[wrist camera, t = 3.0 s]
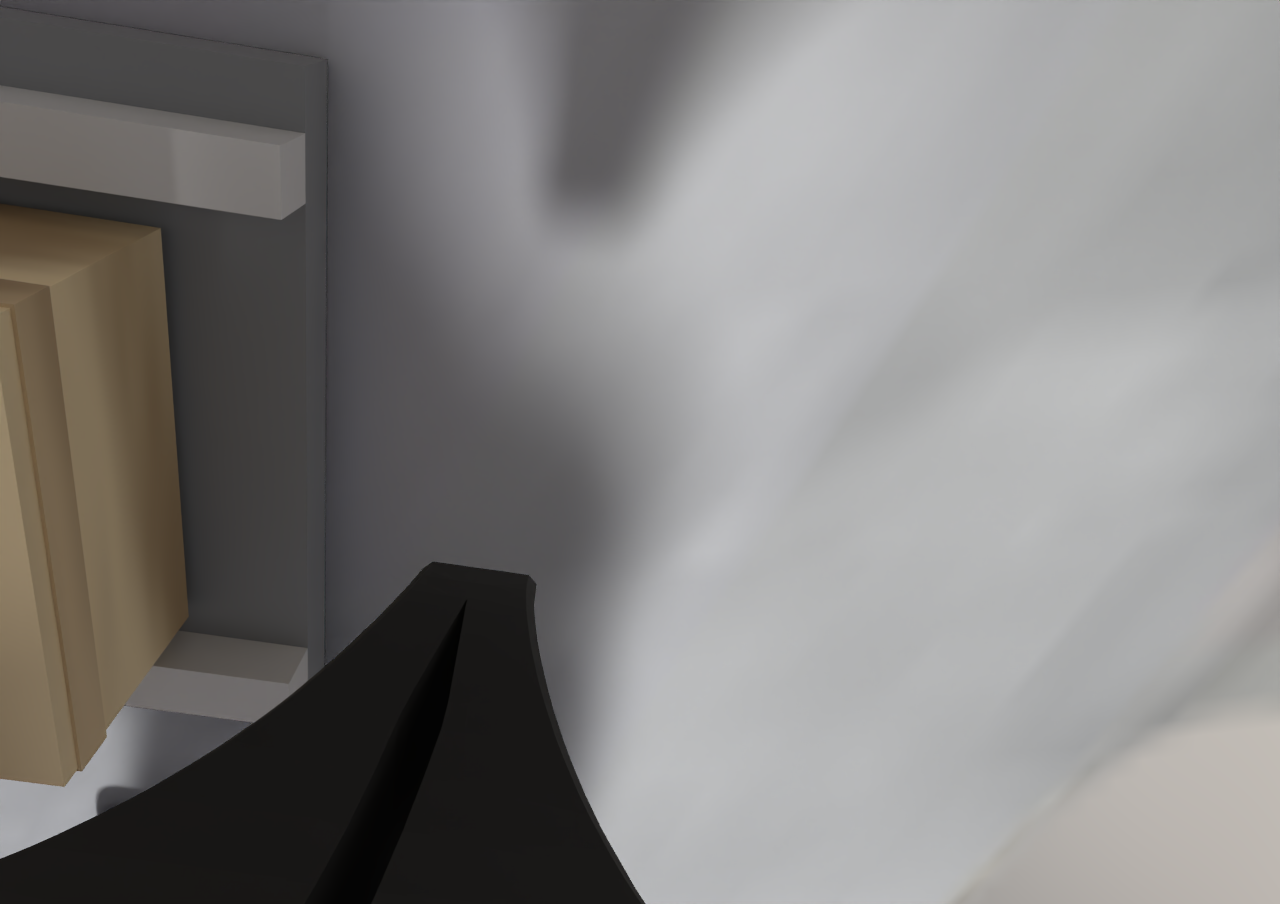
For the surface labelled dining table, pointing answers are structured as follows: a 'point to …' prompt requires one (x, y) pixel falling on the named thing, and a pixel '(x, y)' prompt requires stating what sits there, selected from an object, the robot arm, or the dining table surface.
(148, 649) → the crate
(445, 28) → the dining table surface
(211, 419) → the bay
